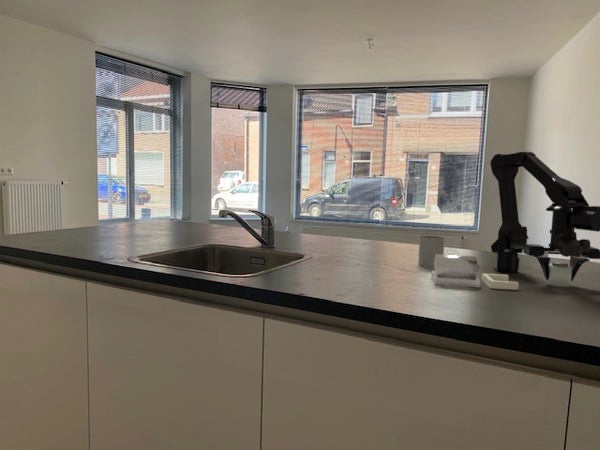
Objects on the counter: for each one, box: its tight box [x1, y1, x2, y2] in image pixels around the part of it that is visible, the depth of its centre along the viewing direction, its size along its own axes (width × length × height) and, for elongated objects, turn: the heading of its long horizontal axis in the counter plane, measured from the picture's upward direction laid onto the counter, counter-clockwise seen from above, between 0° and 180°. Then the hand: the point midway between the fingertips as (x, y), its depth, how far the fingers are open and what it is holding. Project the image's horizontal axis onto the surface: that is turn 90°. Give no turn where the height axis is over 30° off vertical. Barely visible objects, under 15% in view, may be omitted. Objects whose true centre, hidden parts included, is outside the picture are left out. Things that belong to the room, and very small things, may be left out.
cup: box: [418, 235, 445, 268], centre depth 149 cm, size 8×8×10 cm
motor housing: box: [431, 254, 481, 288], centre depth 123 cm, size 12×10×8 cm
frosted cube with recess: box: [546, 261, 572, 288], centre depth 122 cm, size 6×6×6 cm
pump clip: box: [481, 273, 519, 291], centre depth 121 cm, size 7×10×2 cm
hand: (558, 280), depth 123 cm, fingers closed on frosted cube with recess, 6 cm apart
